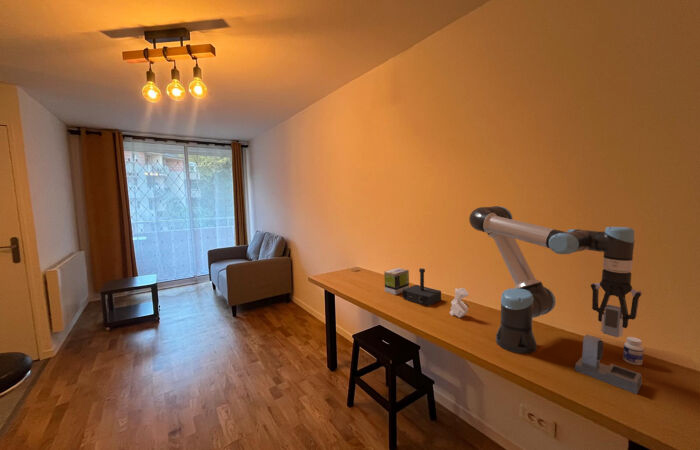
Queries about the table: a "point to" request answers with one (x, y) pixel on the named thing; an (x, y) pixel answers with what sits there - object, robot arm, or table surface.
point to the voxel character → (459, 303)
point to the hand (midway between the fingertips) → (611, 332)
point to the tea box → (396, 280)
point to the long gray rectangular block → (612, 320)
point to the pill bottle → (633, 351)
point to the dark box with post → (422, 293)
